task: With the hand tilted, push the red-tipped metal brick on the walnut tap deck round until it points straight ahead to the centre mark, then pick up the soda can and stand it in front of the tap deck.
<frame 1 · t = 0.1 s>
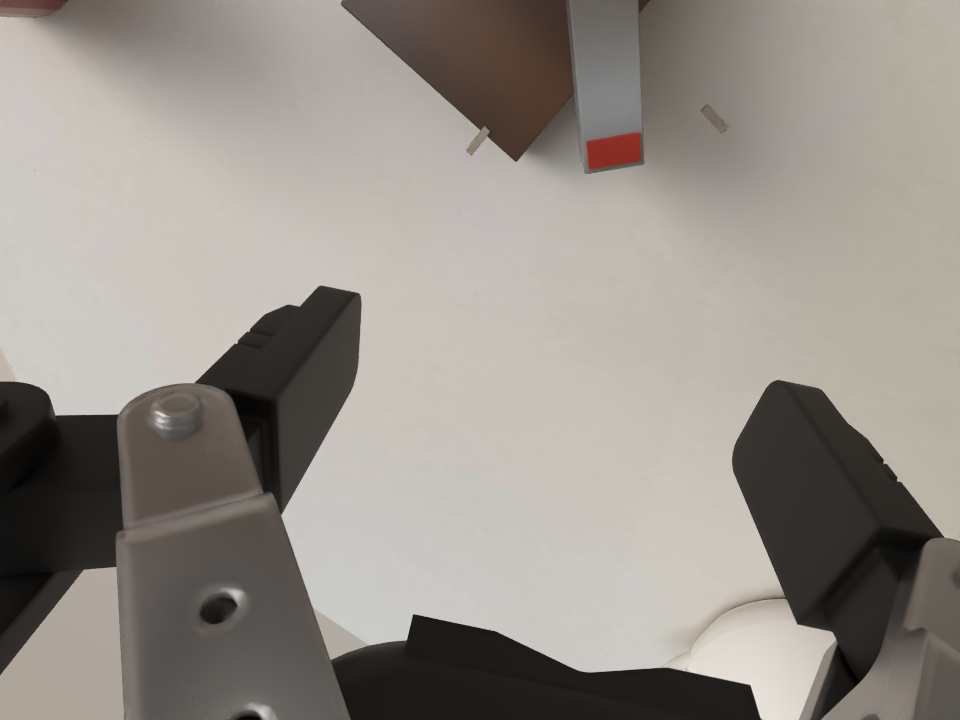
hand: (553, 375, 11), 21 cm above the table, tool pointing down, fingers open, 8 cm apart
teapot: (782, 636, 46), on the table
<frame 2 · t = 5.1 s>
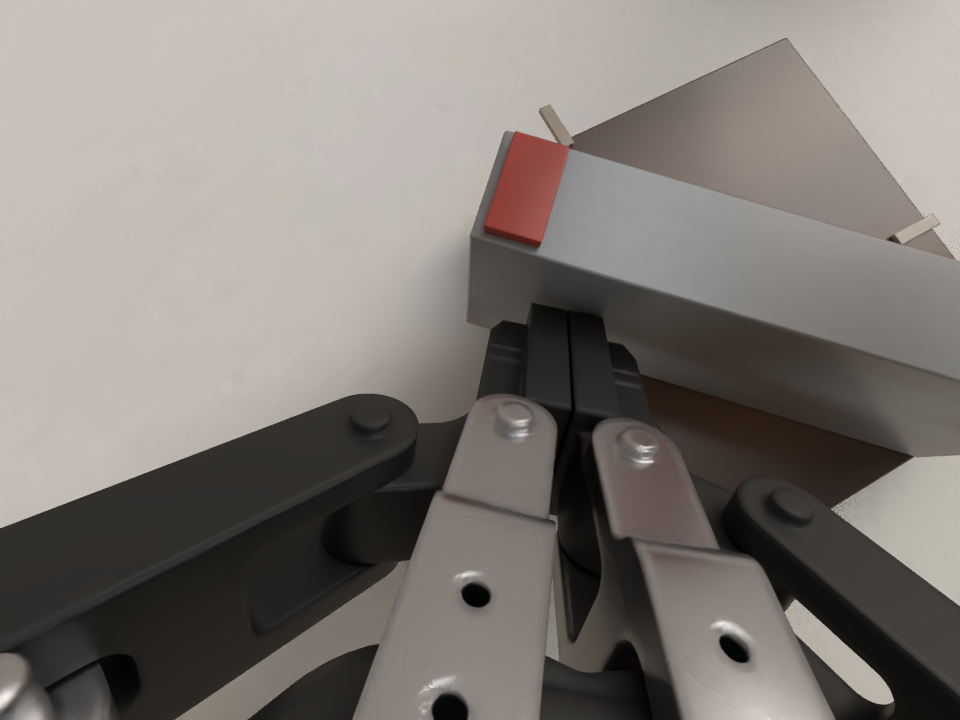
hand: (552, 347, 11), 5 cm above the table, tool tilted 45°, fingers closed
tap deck: (715, 304, 18), on the table
red-tipped metal brick: (750, 320, 11), point 6 cm above the table, hinge at 44.9°, touching gripper
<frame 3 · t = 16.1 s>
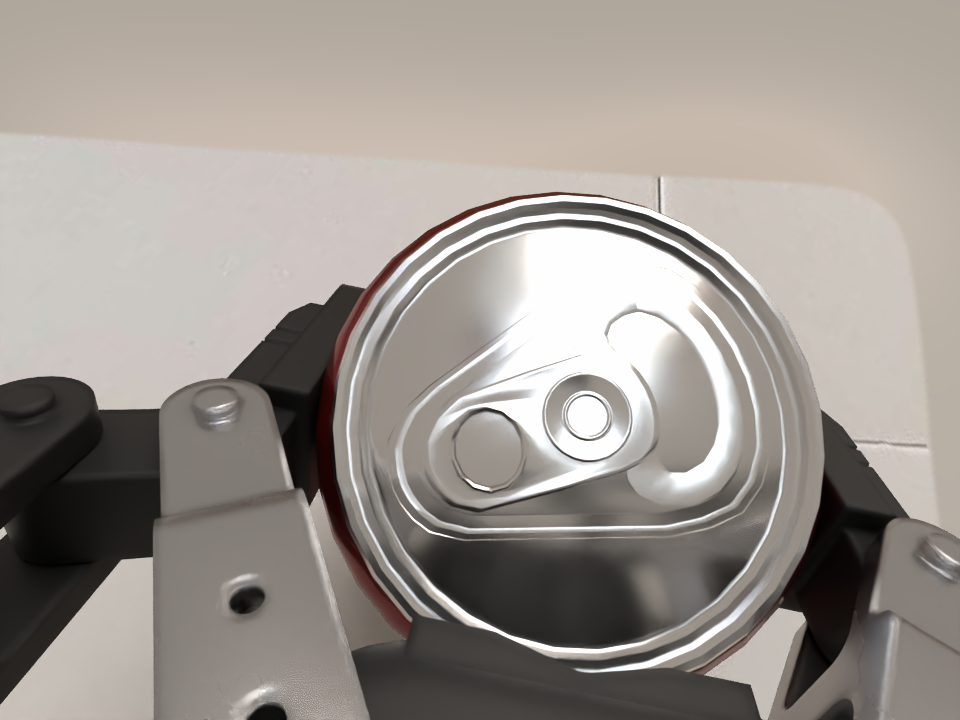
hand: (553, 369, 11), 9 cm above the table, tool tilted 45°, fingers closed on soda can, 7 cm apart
soda can: (504, 459, 19), on the table, touching gripper
when the fingers open (9 cm above the table, at t = 22.6 s): soda can stays where it is, on the table.
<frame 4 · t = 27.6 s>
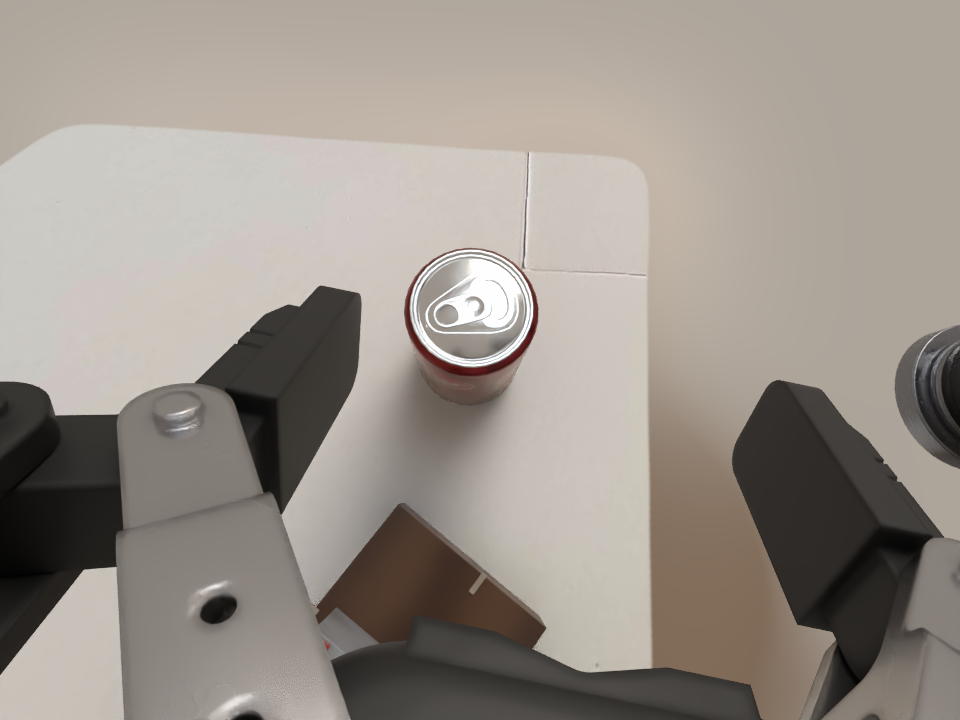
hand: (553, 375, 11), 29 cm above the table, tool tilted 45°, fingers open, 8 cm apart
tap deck: (423, 620, 36), on the table
red-tipped metal brick: (396, 704, 30), point 6 cm above the table, hinge at 1.3°
soda can: (468, 359, 40), on the table
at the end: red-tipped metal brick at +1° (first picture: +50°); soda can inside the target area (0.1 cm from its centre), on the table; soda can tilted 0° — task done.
